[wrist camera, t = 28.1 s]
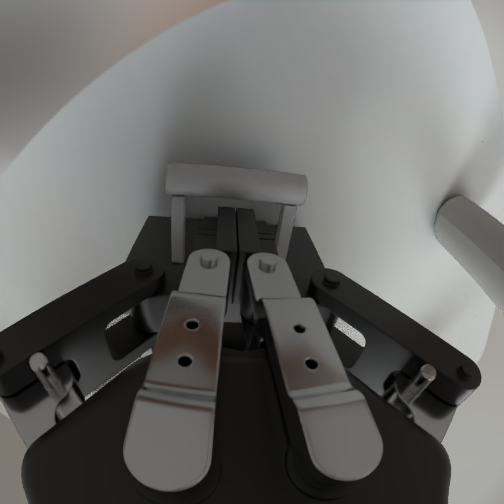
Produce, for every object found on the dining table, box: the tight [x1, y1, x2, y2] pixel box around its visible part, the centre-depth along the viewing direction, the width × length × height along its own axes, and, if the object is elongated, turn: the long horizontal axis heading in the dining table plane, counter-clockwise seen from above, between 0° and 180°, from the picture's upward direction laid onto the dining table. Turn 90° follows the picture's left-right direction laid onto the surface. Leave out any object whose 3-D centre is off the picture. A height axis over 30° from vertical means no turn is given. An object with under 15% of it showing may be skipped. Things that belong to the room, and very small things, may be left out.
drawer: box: [124, 163, 325, 358], centre depth 17 cm, size 17×10×8 cm, turn 173°
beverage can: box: [435, 196, 504, 315], centre depth 16 cm, size 5×5×12 cm
